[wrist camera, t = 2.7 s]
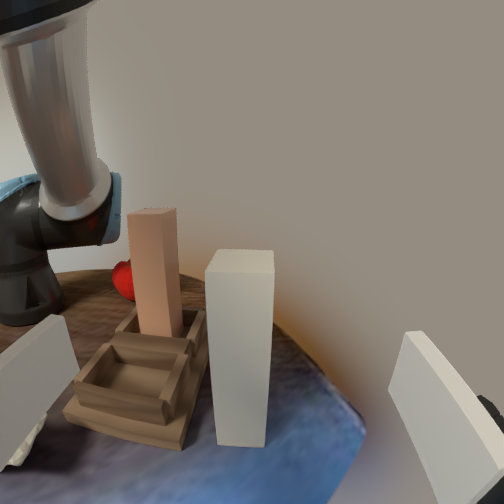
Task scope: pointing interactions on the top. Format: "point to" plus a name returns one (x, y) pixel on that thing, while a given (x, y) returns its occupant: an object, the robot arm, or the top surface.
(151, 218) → the salmon orange block
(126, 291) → the tomato
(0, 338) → the top surface
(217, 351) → the white rectangular block
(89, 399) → the rack
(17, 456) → the rock
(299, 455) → the top surface
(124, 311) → the top surface
